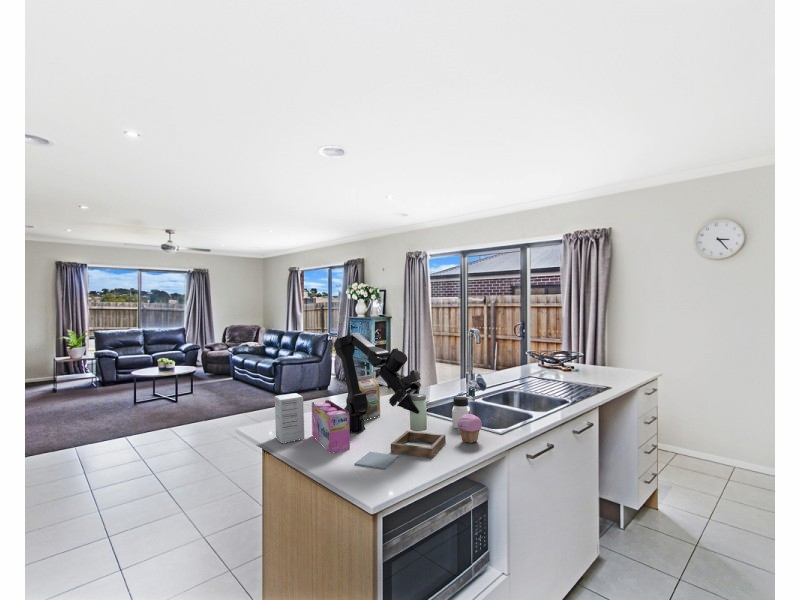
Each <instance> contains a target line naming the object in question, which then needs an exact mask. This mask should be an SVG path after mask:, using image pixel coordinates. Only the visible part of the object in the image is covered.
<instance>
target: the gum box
mask: <svg viewBox="0 0 800 600" xmlns="http://www.w3.org/2000/svg"><path fill="white" fill-rule="evenodd" d="M311 432H312V433H311V435H313V436H314V437H315V438H316V439H317V440H318V441H319V442H320V443H321V444H322V445H323V446H324V447H325V448H326V449H327V450H328V451H329V452H330V453H329V452H328V451H327V450H326V449H325V448H324V447H323V446H322V445H321V444H320V443H319V442H318V441H317V440H316V439H315V438H314V437H313V436H312V437H313V438H314V439H315V440H316V441H317V442H318V443H319V444H320V445H321V446H322V447H323V448H324V449H325V450H326V451H327V452H328V453H329V454H333V452H334V453H339V452H344V451H348V450H351V440H350V439H351V437H350V435H351V432H350V428H349V412H348V411H346V410H345V409H344V408H342V407H341V406H340V405H338V404H336V403H334V402H333V401H331V400H330V399H327V400H325V401H323V402H322V401H321V402H316V403H315V402H311Z"/></svg>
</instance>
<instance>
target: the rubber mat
mask: <svg viewBox="0 0 800 600" xmlns="http://www.w3.org/2000/svg"><path fill="white" fill-rule="evenodd" d="M399 457H400V454H399V455H398V454H390V453H383V452H377V451H376V452H375V451H368V452H367V453H366V454H365V455H364V456H362V457H361V458H360V459H358V460H357V461H356V462H354V463H353V464H354V466H358V467H366V468H373V469H380V470H386V469H387V468H389V466H390V465H392V464H393V463H394V462H395V461H396V460H398V458H399Z"/></svg>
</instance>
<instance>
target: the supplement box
mask: <svg viewBox="0 0 800 600" xmlns="http://www.w3.org/2000/svg"><path fill="white" fill-rule="evenodd" d="M304 412H305V411H304V396H302V395H300V394H299V393H296V392H295V393H287V394H279V395H275V396H274V413H275V421H274V423H275V438H276V437H277V438H276V440H277V441H278V440H279V441H280V442H281V443H283V444H286V443H285V442H288V443H290V442H289V441H293V442H295V441H294V440H298V441H300V440H299V439H304V440H305V415H304V414H305V413H304ZM279 441H278V442H279ZM280 442H279V443H280ZM281 443H280V444H281Z"/></svg>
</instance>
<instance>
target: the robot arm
mask: <svg viewBox="0 0 800 600" xmlns="http://www.w3.org/2000/svg"><path fill="white" fill-rule="evenodd" d="M333 348H334V351H335V353H336V355H337V356H338V357H339V359H341V364H342V369H343V374H344V377H345V382H346V388H347V397H346V399H345V402H346V406H344V408H343V409H345V410H346V411H348V412H349V428H350V433H353V434H360V433H361V432H362V431H364V430H366V427H365V421H364V419H363V415H366V413H367V408H368V401H367V397H366V393H362V392H361V390H360V387H359V383H358V378H357V377H358V374H357V369H356V366H355V361H354V354H355V351H356V348H357V349H358V350H359V351H360V352H361V353H362V354H364V355H365V356H366V357H367V362H368V363H370V365H371V367H373V368H374V367H380V368H377V369H376V370H375V379H378V378H379V377H380V378H381V379H382V380H383V381H384V382H385V383H386V384H387V385H388V386H387V389H389V390H390V389H391V390H392V391H393V392H394V393H393V394H392V396H391V397H389V400H388V401H389V404H390V406H392V407H395V406H397V407H400V408H403V409H405V410H408V411H409V412H410V411H412V412H414V413H416V414H418V413H419V410H418V409H417V407H416V406H415V404H414V403H413V402H412V400H411V396H410V395H411V394H420V389H421V387H422V384H421V382H419V380H421V379H422V378H421V376H420V375H421V373H420V372H419V371H418V370H416V369H413V370H410V371H409V374H408V375H406V376H405V375H404V374H400V373H399V372H400V370H401V369H402V368H403V366H404V365H405V364H406V363H407V361H408V356H407V355H406V353H404V352H403V351H401V350H399V348H397V347H396V348H392V350H391V351H390V352H389V351H388V350H387V349H384V348H383V347H382V348H381V347H378V346H376V345H374V344H373V343H372V342H370V341H369V340H368V339H366V338H365V337H363V335H362V334H361V333H360V332H350V333H348V334H347V335H344V336H342V337H339V338H336V339H335V341H334V342H333ZM397 403H398V404H397Z"/></svg>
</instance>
